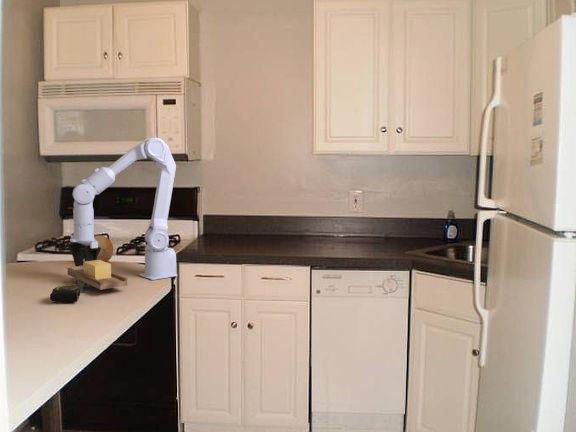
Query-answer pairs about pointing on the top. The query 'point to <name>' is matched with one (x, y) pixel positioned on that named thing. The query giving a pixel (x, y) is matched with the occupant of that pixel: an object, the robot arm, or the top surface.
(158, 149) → the robot arm
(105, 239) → the onion
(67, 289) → the tape measure
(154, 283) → the top surface
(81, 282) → the pivot stand
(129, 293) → the top surface
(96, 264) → the block
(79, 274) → the beam
